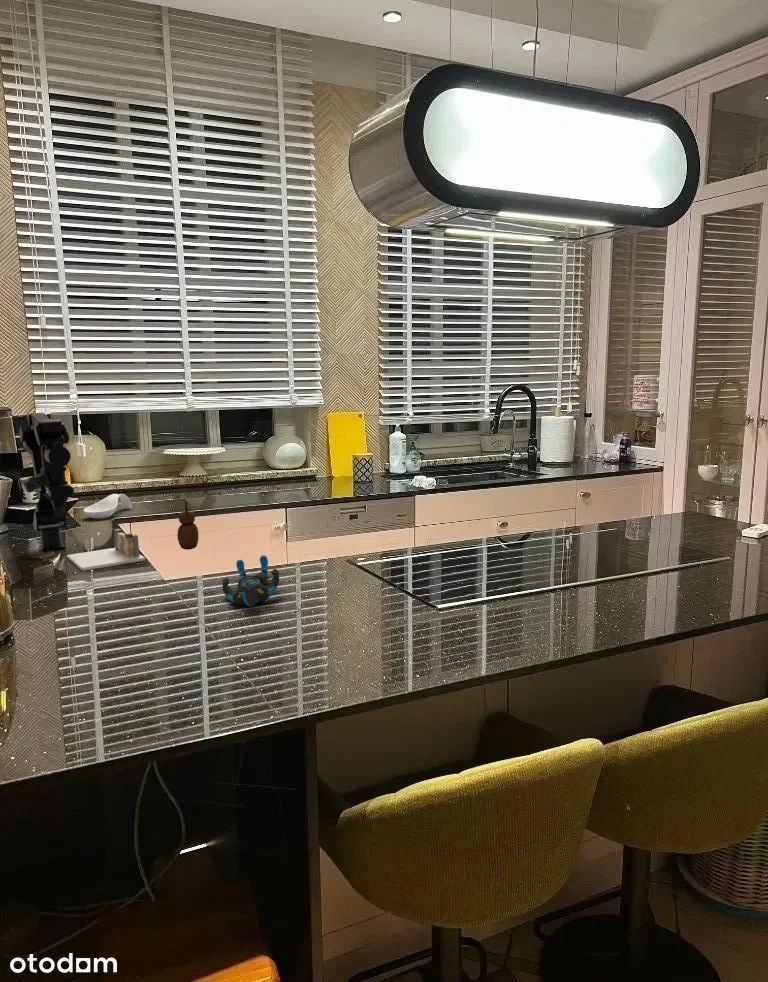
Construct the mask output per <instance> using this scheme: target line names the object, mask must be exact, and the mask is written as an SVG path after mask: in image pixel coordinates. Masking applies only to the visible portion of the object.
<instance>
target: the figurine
mask: <svg viewBox="0 0 768 982" xmlns="http://www.w3.org/2000/svg"><path fill="white" fill-rule="evenodd" d="M235 564H236V565H235V566H236V570H237V572H238V573H239V578H238V581H237V583H238V584H237V586H238V588H237V590H235V591H233V590H232V588H231V587H230V586H229V582H230V581H231V578H230V577H227V576H226V577H224V578H222V579H223V580H222V583H221V584H222V592H223V594H224V595H225V597H226V599H227V600H228V601H229V602H232V603H233V604H235V605H237V606H247V607H253V606H255V605H256V604H259V603H263V602H264V601H267V599H269V598H270V597H271V596H272V595H273V594H274V593H276V591H277V588H278V585H279V581H280V575H279V571H278V569H277V568H271V569H272V570H269V569H268V568H269V567H268V566H269V560H268V557H267V555H264V554H262V555H260V557H259V564H260V566H261V569H260V570H261V571H260V572H259V573H256V574H255V575H254V574H253V575H247V573H246V570H245V563H244V561H243V560H242V559H238V560H237V561H236V562H235ZM268 570H269V573H270V574H271V575H272V576H273V577H271V581H270V583H269V584H268V585H265V582H266V581H267V579H268Z"/></svg>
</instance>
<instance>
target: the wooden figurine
mask: <svg viewBox="0 0 768 982" xmlns="http://www.w3.org/2000/svg"><path fill="white" fill-rule="evenodd" d="M187 501H188V500H185V501H184V511H181V512H180V513H179V515H178V522H179V523H180V525H179V527H178V528H177V541H178V544H179V546H180V548H181V549H182V550H187V551H189V550H193V549H195V548H196V547H198V544H199V538H200V537H199V528H198V526H197V525H196V523H195V521H196V516H195V513H194V512H193V511H190V510H189V509H188V502H187Z"/></svg>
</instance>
